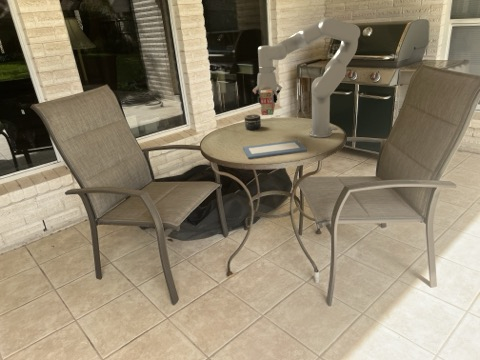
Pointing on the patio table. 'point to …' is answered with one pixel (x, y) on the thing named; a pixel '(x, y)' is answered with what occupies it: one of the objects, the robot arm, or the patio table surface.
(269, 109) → the stack of blocks
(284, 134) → the patio table surface
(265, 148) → the board
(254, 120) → the jar
